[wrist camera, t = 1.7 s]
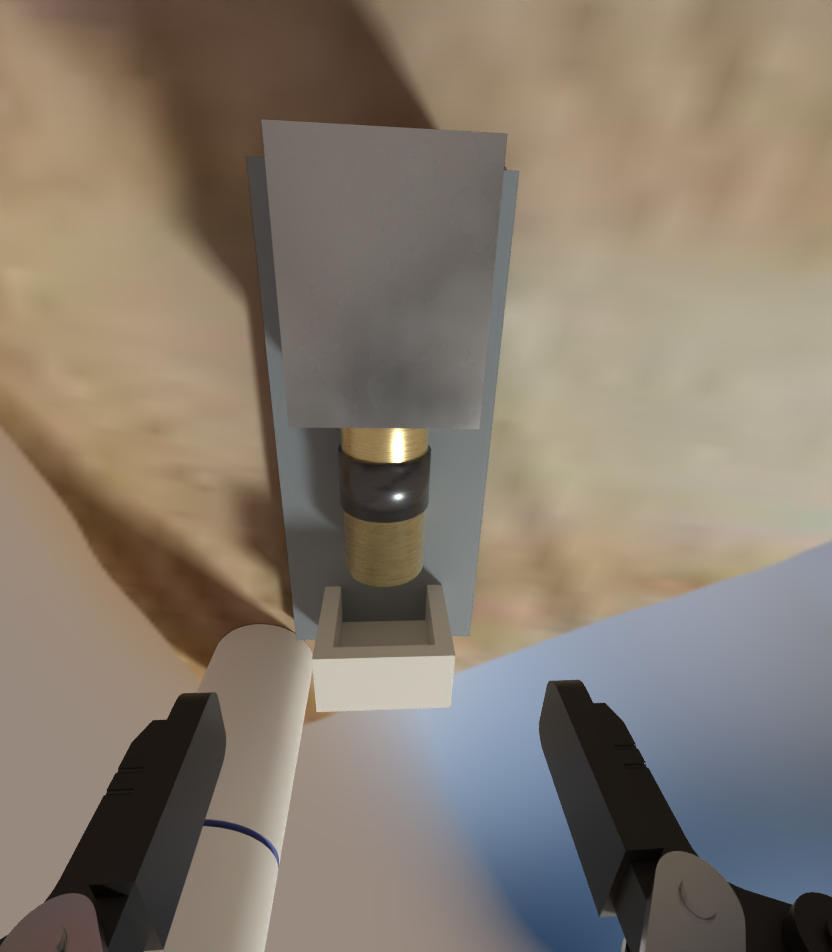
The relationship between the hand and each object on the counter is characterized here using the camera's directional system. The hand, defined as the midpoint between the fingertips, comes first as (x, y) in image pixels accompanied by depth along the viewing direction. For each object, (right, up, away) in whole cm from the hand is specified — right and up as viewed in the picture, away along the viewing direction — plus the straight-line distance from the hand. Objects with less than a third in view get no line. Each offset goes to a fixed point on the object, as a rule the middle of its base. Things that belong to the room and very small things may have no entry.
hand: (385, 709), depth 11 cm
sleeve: (-1, +15, +11) cm, 18 cm away
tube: (-1, +10, +13) cm, 17 cm away
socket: (-1, -3, +19) cm, 20 cm away
